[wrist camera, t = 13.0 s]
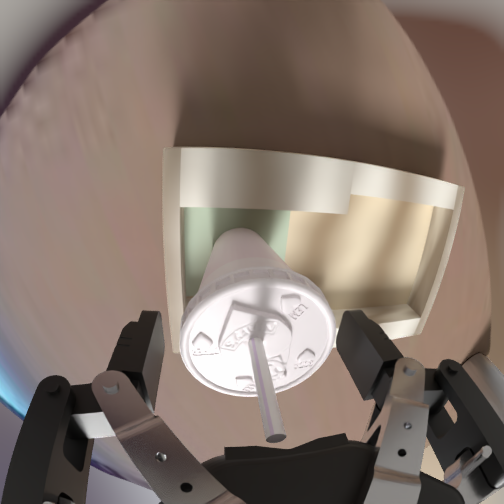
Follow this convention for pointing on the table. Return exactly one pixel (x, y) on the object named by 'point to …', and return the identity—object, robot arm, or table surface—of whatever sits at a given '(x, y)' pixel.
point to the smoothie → (255, 325)
